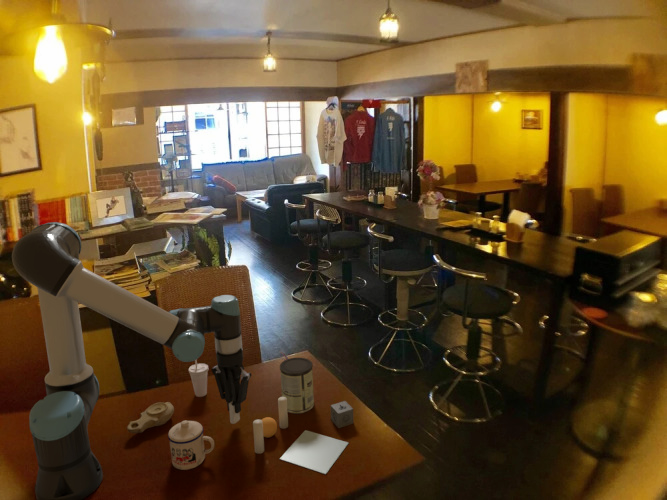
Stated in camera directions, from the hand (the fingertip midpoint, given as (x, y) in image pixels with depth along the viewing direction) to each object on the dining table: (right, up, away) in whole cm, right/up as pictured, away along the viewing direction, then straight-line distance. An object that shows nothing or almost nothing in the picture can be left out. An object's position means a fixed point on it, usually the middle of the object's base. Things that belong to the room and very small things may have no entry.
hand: (235, 420), depth 150 cm
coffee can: (+18, +1, +11) cm, 21 cm away
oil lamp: (-25, -2, +2) cm, 25 cm away
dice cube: (+32, -1, +2) cm, 32 cm away
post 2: (+14, -2, 0) cm, 15 cm away
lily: (+15, +6, +28) cm, 32 cm away
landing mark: (+24, -4, -11) cm, 27 cm away
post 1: (+9, -5, -11) cm, 15 cm away
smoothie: (-15, +3, +19) cm, 24 cm away
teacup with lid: (-8, -6, -14) cm, 17 cm away
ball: (+10, 0, -5) cm, 11 cm away
